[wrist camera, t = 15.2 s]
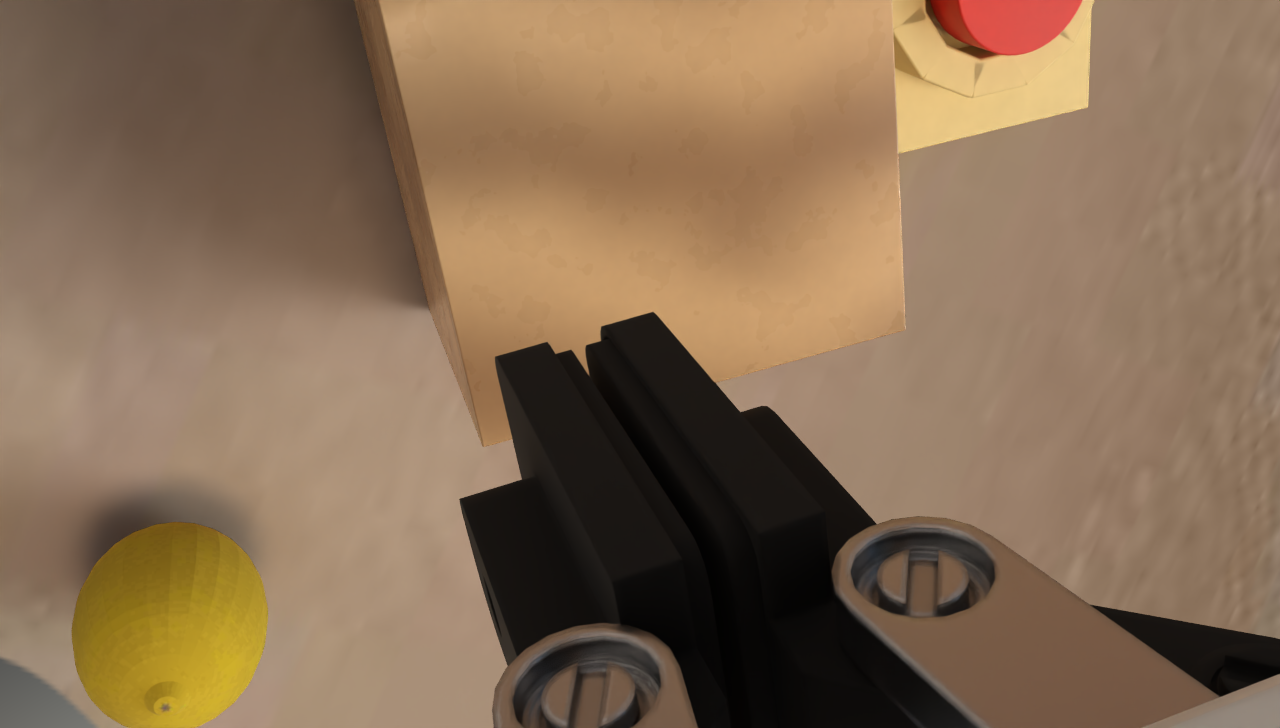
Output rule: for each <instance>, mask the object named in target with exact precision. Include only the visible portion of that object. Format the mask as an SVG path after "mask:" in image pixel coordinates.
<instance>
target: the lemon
mask: <svg viewBox="0 0 1280 728" xmlns="http://www.w3.org/2000/svg"><path fill="white" fill-rule="evenodd" d="M267 621H268V608H267V602H266V597H265V592H264V587H263V583H262V580H261V577H260V575H259V573H258V571H257V570H256V568H255V566H254V564H253V563H252V561H251V559H250V558H249V556H248V555H247V554H246V553H245V552H244V551H243V550H242V549H241V548H240V547H239V546H238V545H237V544H236V543H235V542H234V541H233V540H232V539H231V538H229V537H227V536H225V535H224V534H222V533H220V532H218V531H216V530H215V529H212V528H209V527H205V526H202V525H198V524H195V523H183V522H171V523H163V524H156V525H153V526H150V527H147V528H144V529H142V530H139V531H136V532H133V533H132V534H130V535H129V536H127V537H125V538H124V539H122V540H121V541H119V542H117V543H116V544H115V545H113V546H112V547H111V548H110V549H109V550H108V551H107V552H106V553H105V554H104V555H103V556H102V557H101V558H100V559H99V560H98V562H97V563H96V564H95V565H94V567H93V569H92V570H91V572H90V574H89V576H88V578H87V579H86V581H85V583H84V585H83V587H82V588H81V590H80V593H79V596H78V599H77V603H76V608H75V613H74V618H73V623H72V643H73V650H74V658H75V665H76V669H77V672H78V675H79V677H80V680H81V682H82V684H83V686H84V688H85V690H86V692H87V694H88V696H89V697H90V699H91V700H92V701H93V702H94V703H95V704H96V706H97V707H98V708H99V709H100V710H101V711H102V712H103V713H104V714H106V715H107V716H108V717H110V718H111V719H113V720H115V721H116V722H118V723H120V724H121V725H123V726H126V727H129V728H195V727H198V726H200V725H202V724H204V723H206V722H208V721H210V720H212V719H214V718H215V717H217V716H218V715H219V714H221V713H222V712H223V711H224V710H226V709H227V708H228V707H229V706H231V705H232V704H233V703H234V702H235V701H236V700H237V698H238V697H239V696H240V695H241V693H242V692H243V691H244V690H245V688H246V687H247V686H248V684H249V683H250V681H251V679H252V677H253V675H254V672H255V670H256V668H257V665H258V663H259V660H260V658H261V655H262V653H263V649H264V645H265V639H266V631H267Z"/></svg>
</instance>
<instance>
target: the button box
mask: <svg viewBox="0 0 1280 728" xmlns="http://www.w3.org/2000/svg"><path fill="white" fill-rule="evenodd" d="M1094 1H1095V0H1082V3H1081V5H1080V7H1079V9H1078V11H1077V12H1076V14H1075V16H1074V17H1073V19H1072V20H1071V22H1070V23H1069V24H1068V25H1067V26H1066V28H1065V29H1064V30H1063V31H1062V32H1061V33H1060V34H1059V35H1058V36H1057V37H1056V38H1054V39H1053V40H1052V41H1051V42H1049V43H1048V44H1046V45H1044V46H1043V47H1041V48H1039V49H1037V50H1035V51H1032V52H1029V53H1026V54H1021V55H1011V56H1007V55H1000V54H996V53H993V52H990V51H987V50H984V49H981V48H978V47H975V46H972V45H969V44H966V43H963V42H961V41H959V40H957V39H955V38H954V37H952V36H951V35H950V34H948V33H947V32H946V31H945V30H944V29H943V27H942V26H941V25H940V23H939V22H938V20H937V18H936V16H935V14H934V12H933V9H932V6H931V3H930V0H892V11H893V35H894V59H895V83H896V107H897V131H898V154H899V153H903V152H907V151H911V150H915V149H920V148H924V147H928V146H932V145H936V144H940V143H944V142H948V141H952V140H956V139H961V138H965V137H969V136H973V135H977V134H981V133H985V132H989V131H993V130H997V129H1001V128H1006V127H1010V126H1014V125H1018V124H1022V123H1026V122H1030V121H1034V120H1038V119H1042V118H1047V117H1051V116H1055V115H1059V114H1063V113H1067V112H1071V111H1075V110H1079V109H1083V108H1087V107H1088V93H1089V63H1090V33H1091V7H1092V5H1093V3H1094Z"/></svg>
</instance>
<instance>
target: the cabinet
mask: <svg viewBox="0 0 1280 728" xmlns="http://www.w3.org/2000/svg"><path fill="white" fill-rule="evenodd" d="M354 3H355V8H356V12H357V16H358V20H359V24H360V28H361V32H362V36H363V40H364V44H365V49H366V53H367V57H368V61H369V65H370V69H371V73H372V77H373V81H374V85H375V89H376V94H377V98H378V102H379V106H380V110H381V114H382V118H383V122H384V126H385V130H386V134H387V139H388V143H389V147H390V151H391V155H392V159H393V163H394V167H395V171H396V175H397V179H398V184H399V188H400V192H401V196H402V200H403V204H404V208H405V212H406V216H407V220H408V225H409V229H410V233H411V237H412V241H413V245H414V249H415V253H416V257H417V261H418V265H419V270H420V274H421V278H422V282H423V286H424V290H425V294H426V298H427V302H428V306H429V310H430V313H431V315H432V317H433V321H434V323H435V326H436V328H437V331H438V333H439V336H440V338H441V341H442V344H443V346H444V349H445V351H446V354H447V356H448V359H449V361H450V364H451V367H452V369H453V372H454V374H455V377H456V379H457V382H458V384H459V387H460V390H461V392H462V395H463V397H464V400H465V402H466V405H467V407H468V410H469V413H470V415H471V418H472V420H473V423H474V425H475V428H476V430H477V433H478V436H479V438H480V441H481V443H482V446H483V447H486V446H489V445H493V444H496V443H500V442H504V441H507V440H511V439H512V435H511V431H510V426H509V422H508V418H507V414H506V410H505V405H504V401H503V397H502V393H501V389H500V384H499V380H498V376H497V371H496V365H495V356H499V355H502V354H506V353H509V352H513V351H516V350H520V349H524V348H527V347H531V346H534V345H538V344H541V343H545V342H548V343H549V344H550V346H551V347H552V349H553V351H554V352H555V354H557V353H561V352H564V351H568V350H572V351H573V352H574V354H575V355H576V357H577V358H578V360H579V361H580V363H581V364H582V366H583V367H584V369H585V370H586V372H587V374H588V375H589V371H588V366H587V360H586V353H585V347H586V345H588V344H592V343H595V342H599V341H601V336H600V330H601V326H604V325H608V324H612V323H615V322H619V321H622V320H626V319H629V318H633V317H636V316H640V315H643V314H647V313H650V312H654V313H655V314H656V315H657V316H658V317H659V318H660V319H661V320H662V321H663V323H664V324H665V325H666V326H667V327H668V328H669V330H670V331H671V332H672V333H673V334H674V335H675V337H676V338H677V339H678V340H679V341H680V342H681V344H682V345H683V346H684V347H685V348H686V349H687V351H688V352H689V353H690V354H691V355H692V356H693V358H694V359H695V360H696V361H697V362H698V363H699V365H700V366H701V367H702V368H703V369H704V371H705V372H706V373H707V374H708V375H709V376H710V378H711V379H712V380H713V381H714V382H715V383H716V382H720V381H723V380H727V379H731V378H734V377H738V376H741V375H745V374H749V373H752V372H756V371H759V370H763V369H767V368H770V367H774V366H777V365H781V364H785V363H788V362H792V361H795V360H799V359H803V358H806V357H810V356H814V355H817V354H821V353H824V352H828V351H832V350H835V349H839V348H842V347H846V346H850V345H853V344H857V343H860V342H864V341H868V340H871V339H875V338H878V337H882V336H886V335H889V334H893V333H896V332H900V331H904V330H905V329H906V324H905V300H904V276H903V252H902V228H901V204H900V179H899V155H898V131H897V107H896V83H895V59H894V35H893V11H892V0H354ZM589 377H590V376H589Z"/></svg>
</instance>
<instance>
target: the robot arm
mask: <svg viewBox="0 0 1280 728" xmlns="http://www.w3.org/2000/svg"><path fill="white" fill-rule="evenodd" d="M600 336H601V341H599V342H595V343H592V344H588V345H586V347H585V353H586V360H587V366H588V371H589V375H588V374H587V372H586V370H585V369H584V367H583V366H582V364H581V363H580V361H579V360H578V358H577V357H576V355H575V354H574V352H573V351H572V350H568V351H564V352H561V353H557V354H555V352H554V351H553V349H552V347H551V346H550V344H549V343H548V342H545V343H541V344H538V345H534V346H531V347H527V348H524V349H520V350H516V351H513V352H509V353H506V354H502V355H499V356H495V365H496V371H497V376H498V380H499V384H500V389H501V393H502V397H503V401H504V405H505V410H506V414H507V418H508V422H509V426H510V431H511V435H512V439H513V443H514V448H515V452H516V456H517V460H518V464H519V469H520V473H521V477H522V480H520V481H516V482H513V483H510V484H507V485H503V486H500V487H497V488H494V489H490V490H487V491H484V492H481V493H477V494H474V495H471V496H468V497H464V498H461V499H460V505H461V509H462V514H463V518H464V521H465V525H466V529H467V533H468V536H469V540H470V544H471V547H472V551H473V555H474V559H475V562H476V566H477V569H478V573H479V577H480V580H481V584H482V587H483V590H484V594H485V597H486V601H487V604H488V607H489V610H490V614H491V617H492V620H493V623H494V626H495V630H496V633H497V636H498V639H499V642H500V645H501V648H502V651H503V654H504V656H505V659H506V662H507V665H508V667H507V668H506V669H505V671H504V673H503V675H502V677H501V679H500V680H499V682H498V684H497V686H496V688H495V693H494V701H493V708H492V713H493V724H494V728H1280V639H1277V638H1272V637H1266V636H1261V635H1255V634H1250V633H1244V632H1239V631H1233V630H1227V629H1222V628H1216V627H1211V626H1205V625H1200V624H1194V623H1189V622H1183V621H1178V620H1172V619H1166V618H1161V617H1155V616H1150V615H1144V614H1139V613H1133V612H1128V611H1122V610H1116V609H1111V608H1105V607H1100V606H1094V605H1089V604H1088V603H1086V602H1085V601H1084V600H1082V599H1081V598H1079V597H1078V596H1077V595H1075V594H1074V593H1072V592H1071V591H1069V590H1068V589H1067V588H1065V587H1064V586H1062V585H1061V584H1060V583H1058V582H1057V581H1055V580H1054V579H1052V578H1051V577H1050V576H1048V575H1047V574H1045V573H1044V572H1043V571H1041V570H1040V569H1038V568H1037V567H1035V566H1034V565H1033V564H1031V563H1030V562H1028V561H1027V560H1026V559H1024V558H1023V557H1021V556H1020V555H1018V554H1017V553H1016V552H1014V551H1013V550H1011V549H1010V548H1009V547H1007V546H1006V545H1004V544H1003V543H1001V542H1000V541H999V540H997V539H996V538H994V537H993V536H991V535H989V534H987V533H986V532H984V531H982V530H980V529H978V528H976V527H974V526H972V525H970V524H966V523H962V522H958V521H955V520H951V519H947V518H937V517H922V516H916V517H908V518H899V519H891V520H888V521H885V522H882V523H879V524H876V523H875V522H874V521H873V519H872V518H871V517H870V516H869V515H868V514H867V513H866V512H865V511H864V510H863V508H862V507H861V506H860V505H859V504H858V503H857V502H856V501H855V500H854V499H853V497H852V496H851V495H850V494H849V493H848V492H847V491H846V490H845V489H844V488H843V486H842V485H841V484H840V483H839V482H838V481H837V480H836V479H835V478H834V477H833V475H832V474H831V473H830V472H829V471H828V470H827V469H826V468H825V467H824V466H823V465H822V463H821V462H820V461H819V460H818V459H817V458H816V457H815V456H814V455H813V454H812V452H811V451H810V450H809V449H808V448H807V447H806V446H805V445H804V444H803V443H802V441H801V440H800V439H799V438H798V437H797V436H796V435H795V434H794V433H793V432H792V430H791V429H790V428H789V427H788V426H787V425H786V424H785V423H784V422H783V421H782V419H781V418H780V417H779V416H778V415H777V414H776V413H775V412H774V411H773V410H771V409H770V408H769V407H768V406H760V407H757V408H753V409H750V410H747V411H744V412H740V411H739V410H738V409H737V408H736V407H735V406H734V404H733V403H732V402H731V401H730V400H729V399H728V397H727V396H726V395H725V394H724V393H723V392H722V390H721V389H720V388H719V387H718V386H717V385H716V383H715V382H714V381H713V380H712V379H711V378H710V376H709V375H708V374H707V373H706V372H705V371H704V369H703V368H702V367H701V366H700V365H699V363H698V362H697V361H696V360H695V359H694V358H693V356H692V355H691V354H690V353H689V352H688V351H687V349H686V348H685V347H684V346H683V345H682V344H681V342H680V341H679V340H678V339H677V338H676V337H675V335H674V334H673V333H672V332H671V331H670V330H669V328H668V327H667V326H666V325H665V324H664V323H663V321H662V320H661V319H660V318H659V317H658V316H657V315H656V314H655V313H654V312H650V313H647V314H643V315H640V316H636V317H633V318H629V319H626V320H622V321H619V322H615V323H612V324H608V325H604V326H601V330H600ZM589 376H590V377H589Z"/></svg>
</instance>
